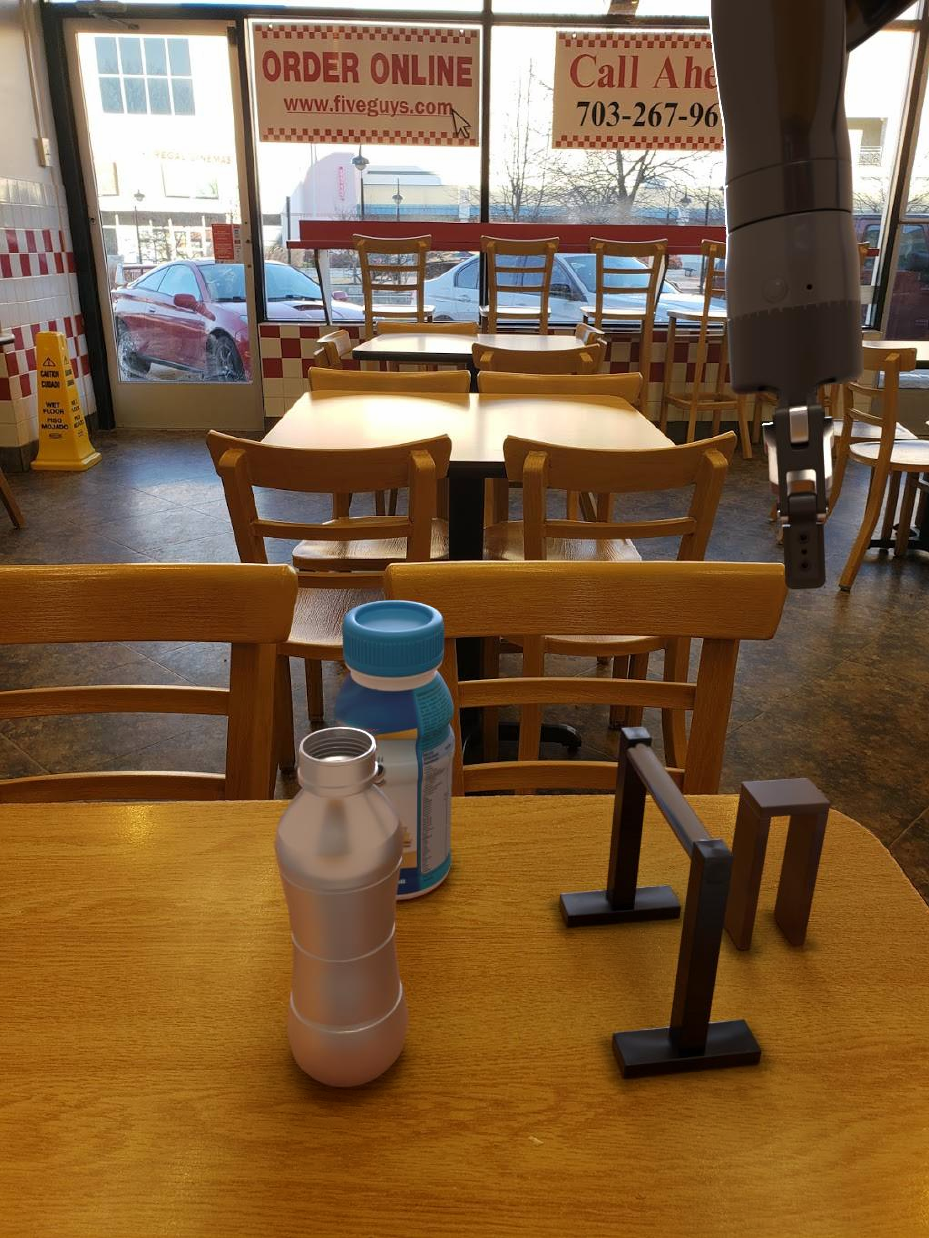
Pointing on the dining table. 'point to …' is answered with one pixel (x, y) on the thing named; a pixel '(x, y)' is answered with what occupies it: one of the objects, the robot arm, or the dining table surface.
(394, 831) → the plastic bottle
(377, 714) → the beverage bottle
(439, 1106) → the dining table surface
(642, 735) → the rack
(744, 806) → the two-legged arch bridge
